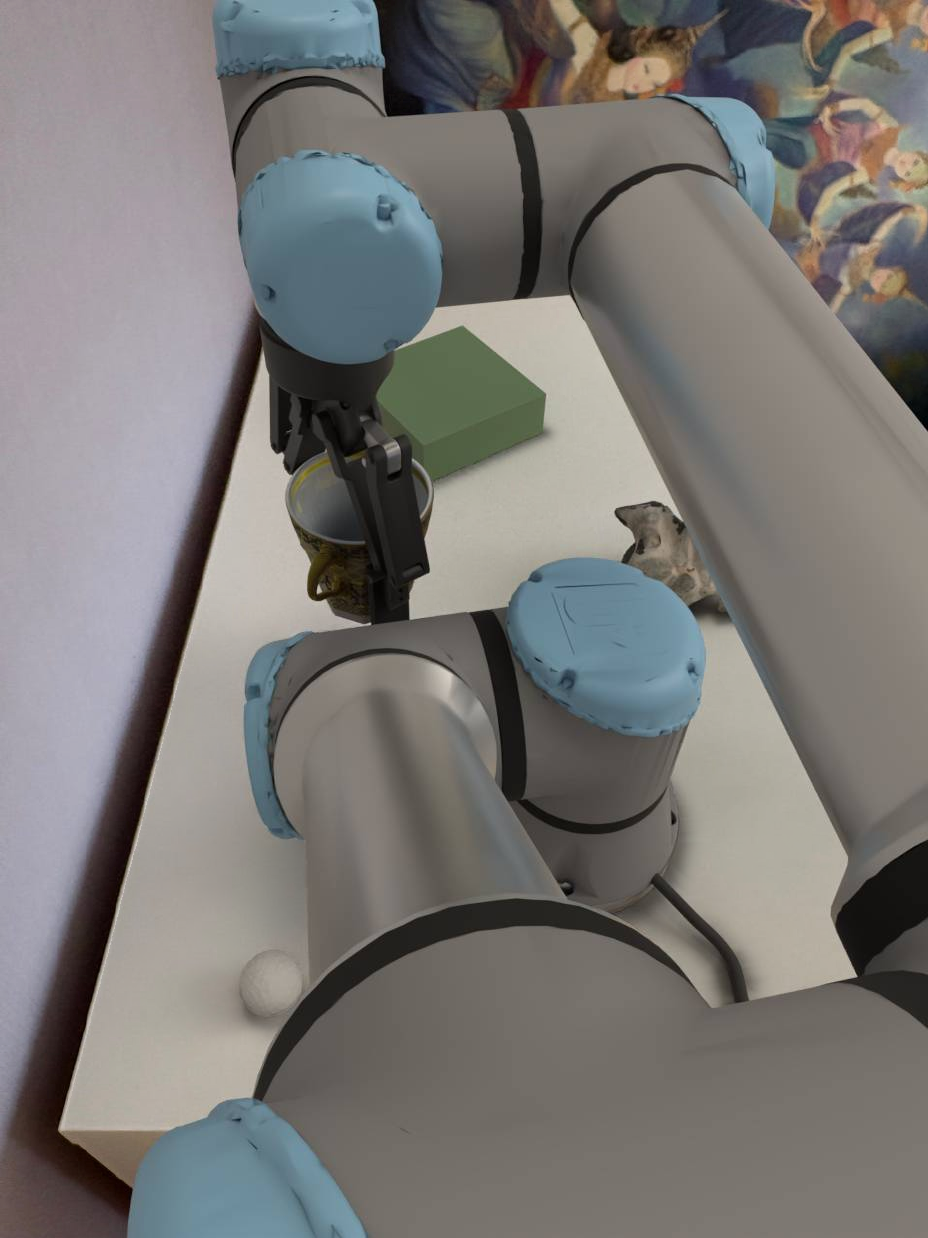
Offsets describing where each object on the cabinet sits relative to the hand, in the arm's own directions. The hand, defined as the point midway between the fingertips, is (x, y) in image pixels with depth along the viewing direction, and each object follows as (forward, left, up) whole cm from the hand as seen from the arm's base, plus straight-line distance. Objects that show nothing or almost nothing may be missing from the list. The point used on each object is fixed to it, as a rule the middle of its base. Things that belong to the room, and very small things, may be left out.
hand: (353, 582), depth 70 cm
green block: (+25, -25, -12) cm, 38 cm away
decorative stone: (-9, -30, -4) cm, 32 cm away
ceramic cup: (-1, 0, -2) cm, 2 cm away
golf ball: (-19, +18, -12) cm, 29 cm away
